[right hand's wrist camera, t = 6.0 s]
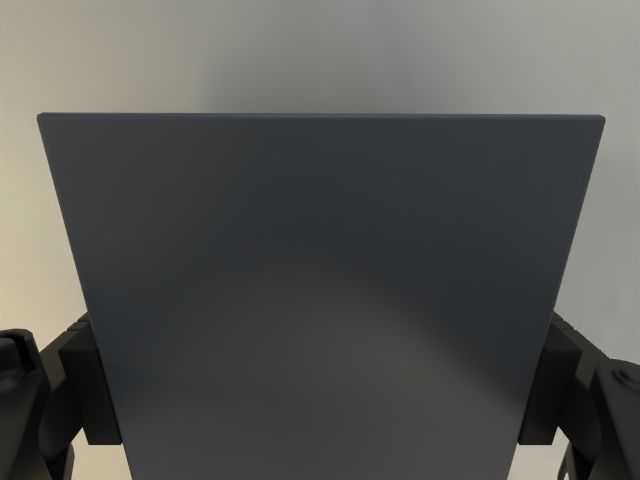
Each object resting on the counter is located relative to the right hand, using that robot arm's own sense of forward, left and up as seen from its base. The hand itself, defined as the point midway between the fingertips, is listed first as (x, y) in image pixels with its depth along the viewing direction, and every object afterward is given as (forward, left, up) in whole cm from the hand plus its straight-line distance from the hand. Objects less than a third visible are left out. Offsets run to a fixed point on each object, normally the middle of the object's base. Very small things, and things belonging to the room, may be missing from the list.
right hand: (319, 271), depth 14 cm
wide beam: (+6, -19, -1) cm, 20 cm away
